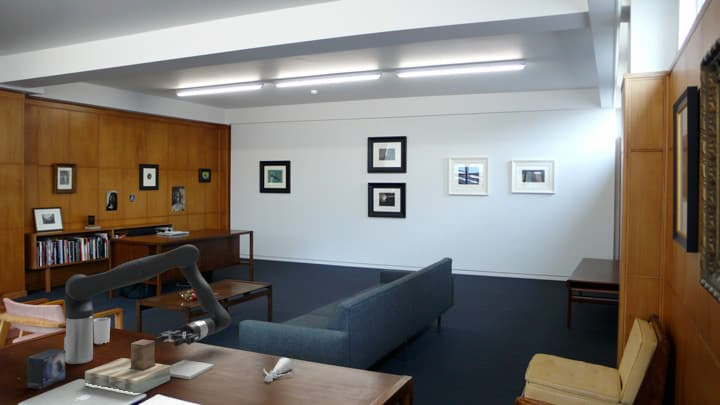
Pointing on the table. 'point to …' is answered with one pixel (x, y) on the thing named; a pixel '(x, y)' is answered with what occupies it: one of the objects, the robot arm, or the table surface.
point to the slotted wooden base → (127, 376)
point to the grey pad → (188, 369)
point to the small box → (45, 368)
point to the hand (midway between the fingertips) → (165, 342)
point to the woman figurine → (279, 369)
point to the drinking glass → (101, 330)
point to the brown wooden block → (142, 355)
